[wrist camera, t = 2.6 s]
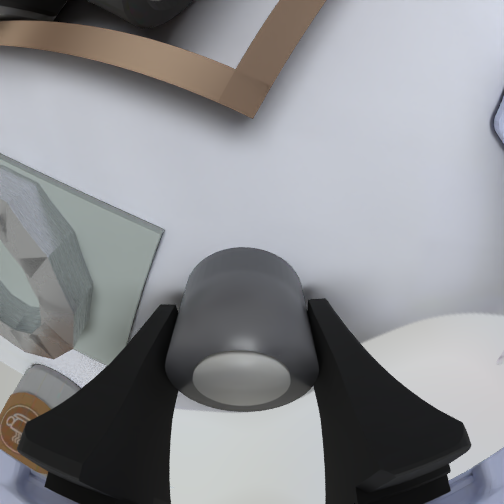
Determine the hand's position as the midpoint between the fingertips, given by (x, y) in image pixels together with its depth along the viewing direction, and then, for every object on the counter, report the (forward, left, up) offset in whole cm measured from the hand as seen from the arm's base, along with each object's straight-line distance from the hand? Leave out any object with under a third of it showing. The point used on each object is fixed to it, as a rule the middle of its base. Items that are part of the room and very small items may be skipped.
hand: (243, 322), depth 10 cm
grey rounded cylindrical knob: (0, 0, -1) cm, 1 cm away
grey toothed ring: (+11, +3, -1) cm, 12 cm away
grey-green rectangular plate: (+11, +3, -1) cm, 12 cm away
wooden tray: (+15, -16, -1) cm, 22 cm away
